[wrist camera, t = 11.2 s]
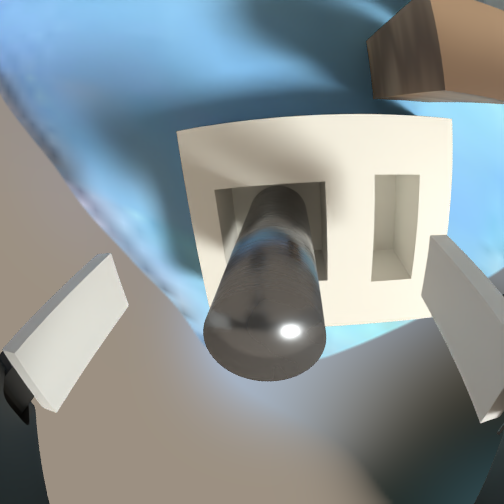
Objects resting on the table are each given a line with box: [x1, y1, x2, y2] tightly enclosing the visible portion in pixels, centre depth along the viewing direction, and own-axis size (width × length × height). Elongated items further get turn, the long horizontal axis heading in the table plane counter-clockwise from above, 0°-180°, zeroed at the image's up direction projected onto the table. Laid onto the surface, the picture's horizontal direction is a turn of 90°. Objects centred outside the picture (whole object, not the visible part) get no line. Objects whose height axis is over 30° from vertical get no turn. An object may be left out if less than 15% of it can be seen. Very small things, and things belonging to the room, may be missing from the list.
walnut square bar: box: [366, 0, 504, 104], centre depth 11 cm, size 4×4×10 cm
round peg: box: [203, 186, 326, 381], centre depth 14 cm, size 4×4×12 cm
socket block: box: [176, 114, 452, 326], centre depth 18 cm, size 12×14×5 cm
